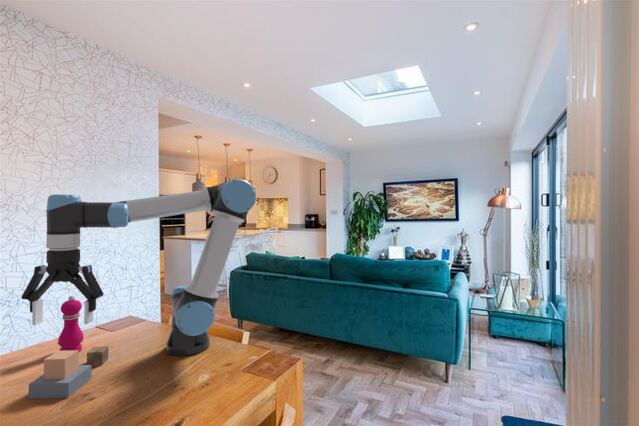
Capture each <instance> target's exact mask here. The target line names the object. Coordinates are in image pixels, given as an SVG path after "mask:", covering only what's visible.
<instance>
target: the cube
mask: <svg viewBox="0 0 639 426" xmlns="http://www.w3.org/2000/svg"><path fill="white" fill-rule="evenodd" d="M78 365H79V352H78V350H68V351H60V350H57V351H56V352H54V353H52V354H51V355H49V356H48V357H46V358H44V359H43V374H44V379H65V378H67V377H68V376H69V375H71V374H72V373H73V372H75V371H76V370H77V369H78Z"/></svg>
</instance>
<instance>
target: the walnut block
mask: <svg viewBox="0 0 639 426" xmlns="http://www.w3.org/2000/svg"><path fill="white" fill-rule="evenodd" d="M108 360H109V345H107V346H106V345H105V346H104V345H103V346H93V347H92V348H90V349H89V350H88V351H87V352H86V365H92V367H94V366H95V367H97V366H99V367H100V366H103V365H104V364H105V363H106V362H107V361H108Z"/></svg>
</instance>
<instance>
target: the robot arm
mask: <svg viewBox="0 0 639 426" xmlns="http://www.w3.org/2000/svg"><path fill="white" fill-rule="evenodd" d="M256 201H257V192H256V190H255V188H254V186H253V185H252V183H250V182H249V181H248V180H245V179H242V178H231V179H229V180H227V181H224V182H221V183H219V184H216V185H212V186H205V187H204V188H203V189H202V190H196V191H187V192H179V193H174V194H165V195H159V196H151V197H143V198H136V199H135V198H134V199H128V200H122V201H115V202H114V201H113V202H110V201H109V202H108V201H107V202H100V201H99V202H97V201H94V202H89V201H82V198H81V195H78V194H57V193H56V194H51V195H49V196H48V197H47V204H46V210H45V213H46V243H45V245H46V246H45V247H46V249H47V251H46V256H45V257H46V259H45V260H46V264H47V266H46V265H44V264H43V265H42V264H41V265H37V266H34V268H33V269H34V271H33V274H32V277H31V278H30V281H29V282H28V284H27V285H26V288H25V290H24V291H23V293H22V295H21V299H22V300H27V301H28V302H29V313H32V316H31V317H32V321H31V322H32V323H31V324H32V326H37V325H39V324H42V323H43V322H44V299H42V297H43V295H44V294H45V293H46V292H47V291H48V290H49V289H50V287H51V286H52V285H53V284H54V283H60V282H62V283H68V282H69V283H70V284H72V285H73V286H74V287H75V288H76V289H77V290H78V291H79V292H80V293H81V295H82V296H84V298H85V299H86V300H85V301H84V304H83V305H84V306H83V309H84V317H83V319H84V321H83V323H84V325H88V324H90V323H92V322H94V312H95V311H96V308H97V300H98V299H99V298H101V297H103V296H104V292H103V290H102V287H101V286H100V283H98V280H97V279H96V276H95V275H94V272H93V267H92V265H91V264H87V265H85V266H84V265H83V266H81V264H80V261H81V249H80V247H81V229H82V228H83V229H84V228H85V229H87V228H100V229H101V228H113V229H116V228H125V227H127V226H128V225H129V223H132V222H133V223H134V222H140V221H145V220H153V219H160V218H165V217H173V216H179V215H184V214H191V213H196V212H203V211H207V212H208V213H213V215H214V219H213V221H212V224H211V227H210V231H208V232H209V233H208V236H207V239H206V241H205V244H204V246H203V249H202V252H201V254H200V257H199V260H198V263H197V265H196V269H195V271H194V274H193V277H192V278H191V279H192V280H191V283H190V284H186V285H179V286H175V287H173V289H172V293H171V297H172V298H171V309H172V310H171V329H170V332H169V334H168V339H167V341H166V345H165V349H166V350H165V351H166V353H167V354H169V355H171V356H178V357H179V356H182V357H183V356H191V355H195V354H199V353H202V352H204V351H206V350H207V349H208V348H209V347H210V344H211V337H210V335H209V330H210V329H211V327H212V326H213V325H214V322H215V319H216V318H215V317H216V312H215V308H216V306H217V302H218V299H219V294H218V292H217V288H218V286H219V282H220V281H221V277H222V274H223V271H224V268H225V266H226V263H227V261H228V257H229V255H230V251H231V248H232V246H233V243H234V240H235V237H236V234H237V232H238V229H239V226H240V224H242V223H245V222H246V220H247V219H246V218H247V216H248V213H249V211H250V210H251V209H252V208H253V207H254V206H255V203H256ZM46 273H47V274H48V275H47V276H46V278H45V279H44V280H43V278H44V276H45V274H46ZM79 273H80V274H82V276H81V275H80V274H79ZM83 278H84V279H83ZM42 280H43V282H42ZM41 282H42V283H41ZM40 283H41V284H40Z"/></svg>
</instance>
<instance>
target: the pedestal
mask: <svg viewBox="0 0 639 426" xmlns="http://www.w3.org/2000/svg"><path fill="white" fill-rule="evenodd" d="M92 367H93V366H92V365H87V364H81V365H79V364H78V369H77V370H76V371H75V372H73V373H72V374H71V375H69V376H68V377H67V378H65V379H44V373H43V374H42V375H40V376H38V377H37V378H36V379H34V380H33V381H31V382H29V383H28V400H29V399H30V400H33V399H38V400H39V399H59V398H60V399H62V398H63V399H64V398H67V399H68V398H70V397H71V396H72V395H73V394H74V393H76V392H77V391H78V390H79V389H80V388H81V387H83V385H84V386H85V384H86V383H88V382H89V381H90V380H92Z"/></svg>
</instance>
